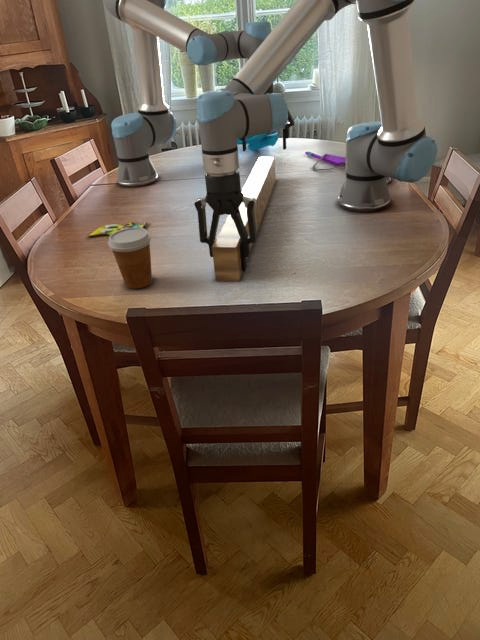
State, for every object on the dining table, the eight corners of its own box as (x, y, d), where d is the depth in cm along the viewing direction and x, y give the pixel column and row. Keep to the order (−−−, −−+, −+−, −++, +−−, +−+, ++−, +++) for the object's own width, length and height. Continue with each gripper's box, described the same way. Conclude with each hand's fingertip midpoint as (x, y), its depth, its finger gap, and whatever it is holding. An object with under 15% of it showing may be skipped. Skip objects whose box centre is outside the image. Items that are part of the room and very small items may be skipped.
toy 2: (216, 133, 217) (279, 113, 206) (223, 156, 222) (286, 138, 212) (206, 142, 203) (273, 121, 193) (214, 166, 208) (280, 148, 198)
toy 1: (137, 233, 137) (87, 234, 139) (137, 236, 137) (88, 237, 139) (147, 220, 145) (100, 221, 147) (147, 223, 146) (101, 224, 148)
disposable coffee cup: (110, 289, 111) (98, 241, 105) (132, 270, 119) (122, 225, 112) (145, 294, 108) (135, 245, 101) (166, 275, 115) (157, 228, 109)
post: (260, 180, 173) (259, 156, 168) (275, 180, 172) (274, 156, 167) (215, 280, 111) (211, 247, 107) (239, 280, 110) (236, 247, 106)
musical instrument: (342, 175, 173) (362, 153, 185) (341, 169, 172) (361, 148, 184) (283, 174, 186) (305, 153, 198) (282, 169, 184) (305, 148, 196)
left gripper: (219, 83, 149) (226, 153, 161) (300, 78, 144) (300, 150, 156) (224, 80, 155) (230, 147, 167) (302, 75, 151) (302, 145, 162)
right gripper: (175, 177, 101) (189, 275, 113) (262, 175, 97) (267, 276, 110) (184, 167, 107) (197, 261, 120) (267, 165, 104) (271, 262, 116)
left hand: (264, 149), depth 161 cm, fingers open, 13 cm apart
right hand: (231, 268), depth 115 cm, fingers closed on post, 6 cm apart
